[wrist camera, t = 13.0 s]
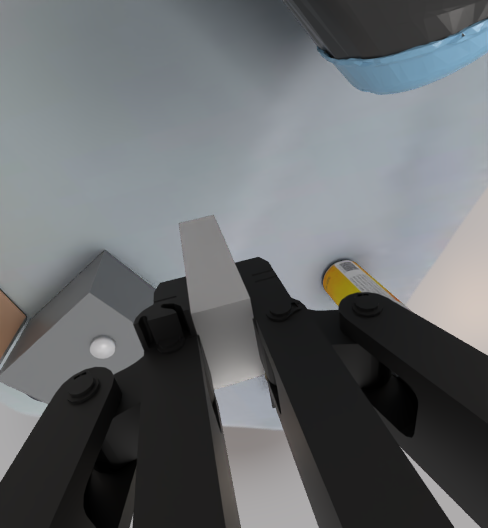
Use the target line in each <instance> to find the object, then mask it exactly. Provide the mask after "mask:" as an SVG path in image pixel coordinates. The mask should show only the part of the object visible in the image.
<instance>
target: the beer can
mask: <svg viewBox="0 0 488 528" xmlns="http://www.w3.org/2000/svg"><path fill="white" fill-rule="evenodd" d="M323 286H324V289H325V291H326V292H327V293H328V294H329V296H330V297H331V298H332V299H333V300H334V302H335V303H336V304H337V305H338V306H339V304H340V302H341V300H342V299H343V298H345V297H346V296H347V295H350V294H353V293H357V292H371V293H378V294H380V295H383V296H385V297H387V298H389V299H391V300H392V301H394V302H396V303H398V304H399V305H401V306H403V307H405V308H406V309H408V310H410V309H409V308H407V307H406V306H405V305H404V304H403V303H402V302H400V301H399V300H398V299H397V298H396V297H395V296H394V295H392V294H391V293H390V292H389V291H388V290H387V289H385V288H384V287H383V286H382V285H381V284H380V283H379V282H377V281H376V280H375V279H374V278H373V277H372V276H370V275H369V274H368V273H367V272H366V271H365V270H364V269H362V268H361V267H360V266H359V265H358V264H357V263H355V262H353V261H350V260H344V261H340V262H337V263H335V264H333V265H332V266H331V267H329V269H328V270H327V271H326V273H325V276H324V279H323ZM410 311H411V310H410ZM411 312H412V311H411Z"/></svg>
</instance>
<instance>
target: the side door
mask: <svg viewBox="0 0 488 528" xmlns="http://www.w3.org/2000/svg"><path fill="white" fill-rule="evenodd" d="M25 322H26V316H25V315H24V314H23V313H22V312H21V311H20V310H19V309H18V308H17V307H16V306H15V305H14V304H13V303H12V302H11V301H10V300H9V299H8V298H7V297H6V296H5V295H4V294H3V293H2V292H1V291H0V364H1V362H2V360H3V359H4V357H5V355H6V354H7V352H8V350H9V349H10V347H11V345H12V344H13V342H14V340H15V339H16V337H17V335H18V334H19V332H20V330H21V329H22V327H23V325H24V324H25Z"/></svg>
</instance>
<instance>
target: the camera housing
mask: <svg viewBox="0 0 488 528" xmlns="http://www.w3.org/2000/svg"><path fill="white" fill-rule="evenodd" d="M155 290H156V289H154V288H153V287H152V286H150V285H149V284H148V283H147V282H145V281H144V280H143V279H141V278H140V277H139V276H138V275H136V274H135V273H134V272H133V271H131V270H130V269H129V268H127V267H126V266H125V265H124V264H122V263H121V262H120V261H118V260H117V259H116V258H115V257H113V256H112V255H111V254H109V253H108V252H107V251H106V250H104V251H103V252H102V253H101V254H100V255H99V256H98V257H97V258H96V259H95V260H94V261H93V262H92V263H91V264H89V265H88V266H87V267H86V268H85V269H84V270H83V271H82V272H81V273H80V274H79V275H78V276H77V277H76V278H75V279H73V280H72V281H71V282H70V283H69V284H68V285H67V286H66V287H65V288H64V289H63V290H62V291H61V292H60V293H59V294H58V295H56V296H55V297H54V298H53V299H52V300H51V301H50V302H49V303H48V304H47V305H46V306H45V307H44V308H43V309H42V310H41V311H39V312H38V313H37V314H36V315H35V316H34V317H33V318H32V319H31V320H30V321H29V322H28V324H27V326H26V328H25V329H24V331H23V333H22V334H21V336H20V338H19V340H18V341H17V343H16V345H15V346H14V348H13V350H12V352H11V353H10V355H9V357H8V358H7V360H6V362H5V364H4V365H3V367H2V369H1V370H0V382H2V383H4V384H6V385H8V386H10V387H12V388H15V389H17V390H19V391H21V392H23V393H25V394H27V395H28V396H29V397H31V398H33V399H35V400H37V401H41V402H44V403H47V404H49V403H50V401H51V399H52V398H53V396H54V395H55V393H56V392H57V390H58V389H59V388H60V387H61V385H62V384H63V383H64V382H65V381H67V380H68V379H69V378H71V377H72V376H73V375H75V374H77V373H79V372H81V371H83V370H85V369H89V368H93V367H106V368H107V369H109V370H111V371H112V373H113V375H114V374H116V373H117V372H119V371H121V370H123V369H125V368H127V367H129V366H130V365H132V364H134V363H135V362H137V361H138V360H139V359H140V358H142V357H143V356H144V350H143V347H142V345H141V343H140V340H139V338H138V335H137V333H136V331H135V328H134V326H133V323H134V321H135V318H136V317H137V316H138V315H139V314H140V313H141V312H142V311H143V310H145V309H146V308H148V307H149V306H151V305H153V303H154V302H153V300H154V291H155Z"/></svg>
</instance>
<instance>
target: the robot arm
mask: <svg viewBox="0 0 488 528" xmlns="http://www.w3.org/2000/svg"><path fill="white" fill-rule="evenodd" d="M282 1H283V2H284V3H285V5H286V6H287V7H288V8H289V10H290V11H291V12H292V14H293V15H294V16H295V18H296V19H297V20H298V21H299V23H300V24H301V25H302V27H303V28H304V29H305V30H306V32H307V33H308V34H309V36H310V37H311V38H312V40H313V41H314V42H315V43H316V45H317V50H318V52H319V53H320V54H321V56H322V57H323V58H325V59H326V60H327V61H329V62H332V63H333V64H334V65H335V66H336V68H337V69H338V70H339V71H340V72H341V73H342V74H343V75H344V77H345V78H346V79H347V80H348V81H349V82H350V83H351V84H352V85H353V86H354V87H356V88H357V89H359V90H361V91H365V92H371V93H375V94H380V95H383V94H394V93H400V92H405V91H409V90H413V89H416V88H419V87H422V86H425V85H427V84H430V83H432V82H435V81H437V80H439V79H441V78H444V77H446V76H448V75H450V74H452V73H454V72H456V71H458V70H460V69H461V68H463V67H465V66H467V65H468V64H470V63H472V62H474V61H475V60H477V59H478V58H480V57H481V56H483V55H484V54H486V53H487V52H488V0H282ZM179 228H180V236H181V243H182V251H183V258H184V266H185V273H186V277H182V278H178V279H174V280H170V281H166V282H162V283H160V284H159V285H158V287H157V288H156V290H155V291H154V300H153V302H154V303H153V305H151V306H149V307H148V308H146V309H145V310H143V311H142V312H141V313H140V314H139V315H138V316H137V317H136V318H135V321H134V323H133V326H134V328H135V331H136V333H137V335H138V338H139V340H140V343H141V345H142V347H143V350H144V356H143V357H142V358H140V359H139V360H138V361H137V362H135V363H134V364H132V365H130V366H129V367H127V368H125V369H123V370H121V371H119V372H117V373H116V374H114V375H113V373H112V371H111V370H109V369H107V368H106V367H93V368H89V369H85V370H83V371H81V372H79V373H77V374H75V375H73V376H72V377H71V378H69V379H68V380H67V381H65V382H64V383H63V384H62V385H61V387H60V388H59V389H58V390H57V392H56V393H55V395H54V396H53V398H52V399H51V401H50V403H49V404H48V406H47V408H46V409H45V411H44V412H43V414H42V416H41V417H40V419H39V420H38V422H37V424H36V425H35V427H34V429H33V430H32V432H31V433H30V435H29V437H28V438H27V440H26V442H25V443H24V445H23V447H22V448H21V450H20V451H19V453H18V455H17V456H16V458H15V460H14V461H13V463H12V464H11V466H10V468H9V469H8V471H7V472H6V474H5V476H4V477H3V479H2V480H1V482H0V528H129V527H130V523H131V520H132V516H133V528H241V525H240V520H239V515H238V510H237V505H236V498H235V493H234V488H233V482H232V477H231V472H230V466H229V461H228V455H227V450H226V445H225V440H224V434H223V429H222V423H221V418H220V412H219V407H218V403H217V400H216V397H215V393H214V390H215V389H219V388H222V387H225V386H229V385H232V384H236V383H239V382H242V381H246V380H249V379H252V378H256V377H259V376H262V375H265V374H264V370H265V373H266V376H267V381H268V386H269V391H270V397H271V402H272V407H273V408H275V407H276V410H277V413H278V416H279V418H280V421H281V424H282V427H283V429H284V432H285V435H286V437H287V440H288V443H289V446H290V448H291V451H292V454H293V457H294V460H295V462H296V465H297V468H298V471H299V474H300V476H301V479H302V482H303V485H304V488H305V490H306V493H307V496H308V499H309V501H310V504H311V507H312V510H313V512H314V515H315V518H316V521H317V524H318V526H319V528H454V526H453V525H452V524H451V522H450V520H449V519H448V517H447V516H446V514H445V513H444V511H443V510H442V509H441V507H440V506H439V504H438V503H437V501H436V500H435V498H434V497H433V495H432V494H431V492H430V491H429V489H428V488H427V486H426V485H425V483H424V482H423V480H422V479H421V477H420V476H419V474H418V473H417V471H416V470H415V468H414V467H413V465H412V464H411V463H410V461H409V460H408V458H407V457H406V455H405V454H404V452H403V451H402V449H403V450H404V451H405V452H406V453H407V454H408V455H409V456H410V457H411V458H412V459H413V460H414V461H415V462H416V463H417V464H418V465H419V466H420V467H421V468H422V469H423V470H424V471H425V472H426V473H427V474H428V475H429V476H430V477H431V478H432V479H433V480H434V481H435V482H436V483H437V484H438V485H439V486H440V487H441V488H442V489H443V490H444V491H445V492H446V493H447V494H448V495H449V496H450V497H451V498H452V499H453V500H454V501H455V502H456V503H457V504H458V505H459V506H460V507H461V508H462V509H463V510H464V511H465V512H466V513H467V514H468V515H469V516H470V517H471V518H472V519H473V520H474V521H475V522H476V523H477V524H478V525H479V526H480V527H481V528H488V355H486V354H484V353H482V352H480V351H479V350H477V349H475V348H474V347H472V346H470V345H469V344H467V343H465V342H463V341H462V340H460V339H458V338H456V337H455V336H453V335H451V334H449V333H448V332H446V331H444V330H443V329H441V328H439V327H437V326H436V325H434V324H432V323H430V322H429V321H427V320H425V319H424V318H422V317H420V316H418V315H417V314H415V313H413V312H411V311H410V310H408V309H406V308H405V307H403V306H401V305H399V304H398V303H396V302H394V301H392V300H391V299H389V298H387V297H385V296H383V295H380V294H378V293H371V292H357V293H353V294H350V295H347V296H346V297H345V298H343V299H342V300H341V302H340V304H339V310H326V311H315V310H309V309H307V308H306V307H305V305H304V304H302V303H301V302H300V301H298V300H296V299H293V298H291V297H290V295H289V294H288V292H287V290H286V289H285V287H284V286H283V284H282V283H281V281H280V279H279V278H278V277H277V275H276V273H275V272H274V271H273V268H272V267H271V265H270V264H269V262H268V261H266V260H264V259H262V258H260V257H256V258H252V259H248V260H244V261H240V262H236V263H235V262H234V260H233V258H232V256H231V253H230V251H229V249H228V246H227V244H226V242H225V239H224V237H223V235H222V233H221V230H220V228H219V226H218V223H217V221H216V219H215V216H214V215H211V216H207V217H202V218H198V219H194V220H190V221H186V222H181V223H179ZM263 368H264V369H263ZM400 447H401V448H402V449H401V448H400ZM133 512H134V513H133Z"/></svg>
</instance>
